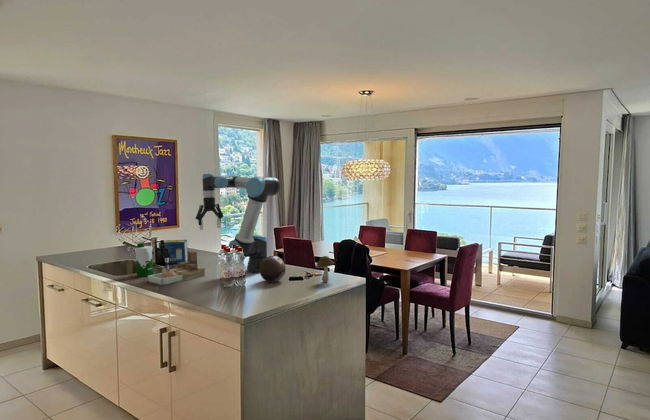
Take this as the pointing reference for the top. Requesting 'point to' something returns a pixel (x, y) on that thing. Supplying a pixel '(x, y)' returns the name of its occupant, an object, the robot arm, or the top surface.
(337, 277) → the top surface
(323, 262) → the mushroom
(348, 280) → the top surface
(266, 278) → the wooden sphere
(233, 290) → the top surface
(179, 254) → the protein box
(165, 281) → the tray
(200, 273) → the bench plate
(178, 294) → the top surface
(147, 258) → the milk carton
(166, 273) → the tile
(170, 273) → the tile
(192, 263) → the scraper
